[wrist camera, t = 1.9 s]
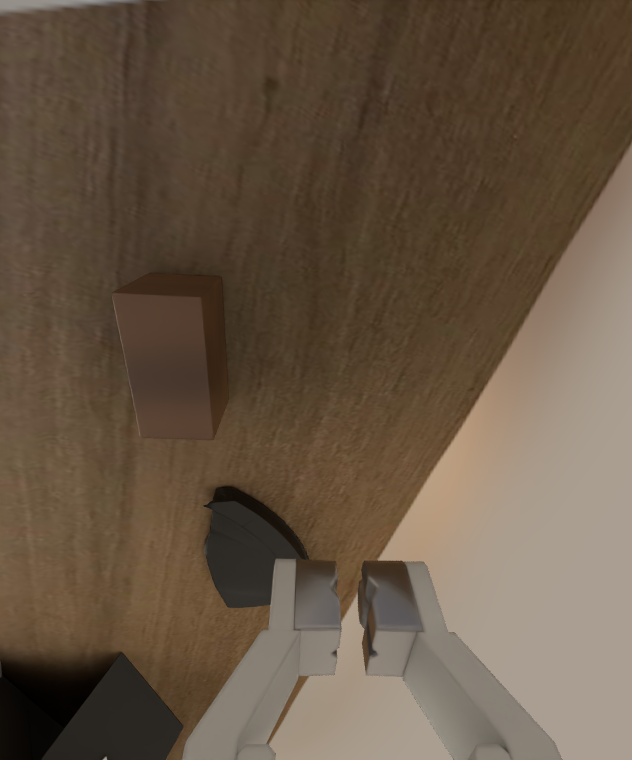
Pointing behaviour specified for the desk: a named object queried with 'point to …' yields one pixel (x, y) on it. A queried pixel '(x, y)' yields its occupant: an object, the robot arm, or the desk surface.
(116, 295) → the walnut block
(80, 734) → the office phone
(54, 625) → the desk surface
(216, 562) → the fan shaped piece
